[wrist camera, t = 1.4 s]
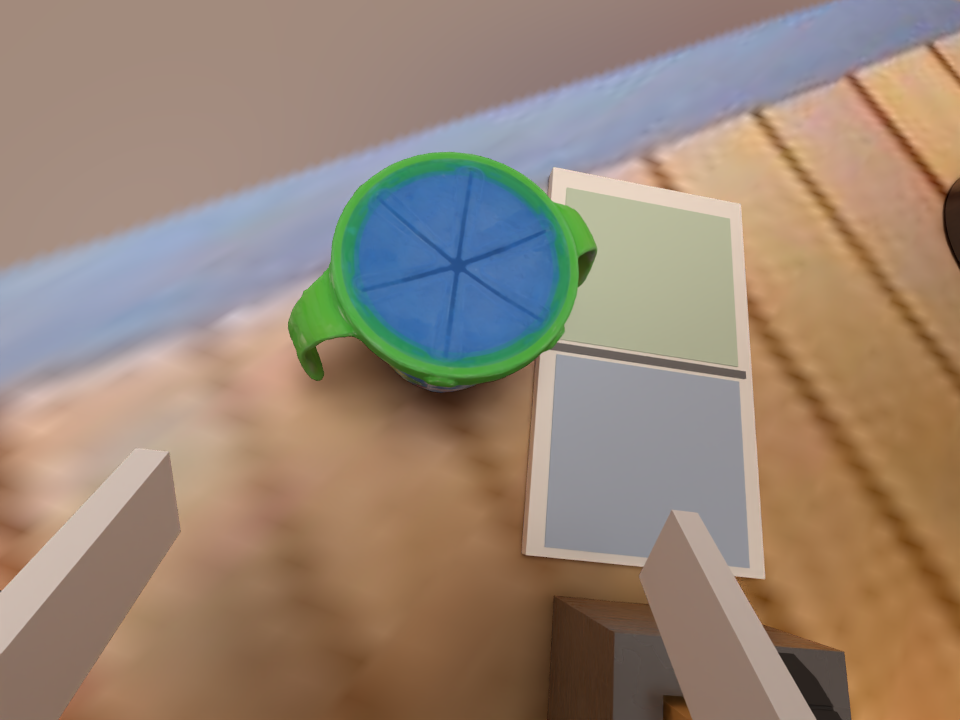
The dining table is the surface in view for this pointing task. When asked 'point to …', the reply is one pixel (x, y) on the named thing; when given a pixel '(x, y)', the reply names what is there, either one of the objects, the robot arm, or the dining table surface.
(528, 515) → the picture board
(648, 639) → the button base
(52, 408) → the dining table surface
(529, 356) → the snack cup
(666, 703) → the button
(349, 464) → the dining table surface
